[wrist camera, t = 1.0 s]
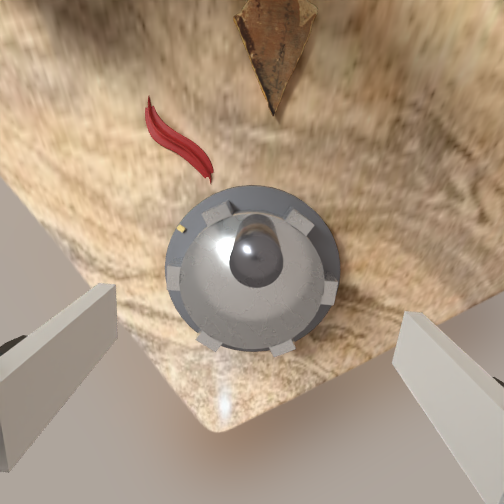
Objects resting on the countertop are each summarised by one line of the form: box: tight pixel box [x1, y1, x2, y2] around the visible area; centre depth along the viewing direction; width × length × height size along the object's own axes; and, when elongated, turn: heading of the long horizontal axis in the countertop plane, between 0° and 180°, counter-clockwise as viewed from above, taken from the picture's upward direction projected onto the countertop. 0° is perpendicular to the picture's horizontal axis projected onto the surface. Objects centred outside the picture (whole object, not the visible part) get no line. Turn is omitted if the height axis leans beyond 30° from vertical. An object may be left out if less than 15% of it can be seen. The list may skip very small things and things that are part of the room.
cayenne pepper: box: [145, 97, 214, 183], centre depth 34 cm, size 12×5×2 cm, turn 27°
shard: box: [234, 0, 318, 116], centre depth 32 cm, size 11×8×2 cm
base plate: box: [165, 185, 340, 352], centre depth 38 cm, size 21×21×2 cm
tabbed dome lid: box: [167, 200, 338, 357], centre depth 31 cm, size 18×19×13 cm
